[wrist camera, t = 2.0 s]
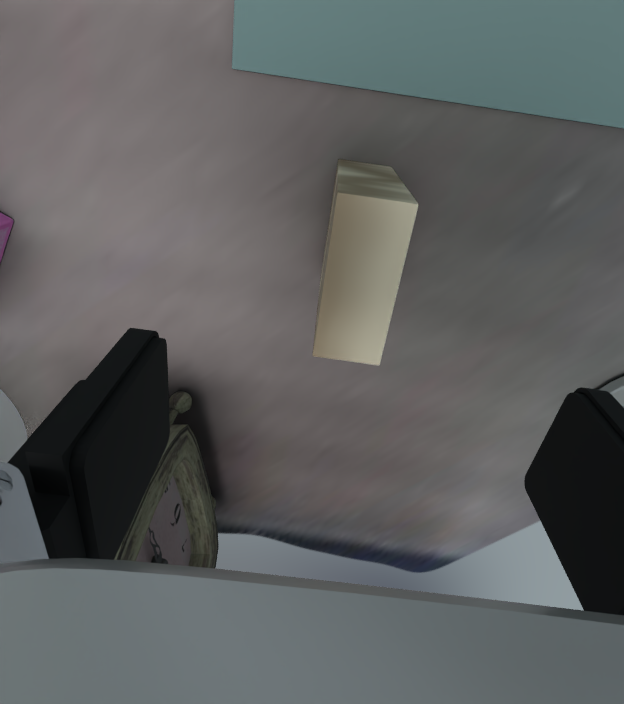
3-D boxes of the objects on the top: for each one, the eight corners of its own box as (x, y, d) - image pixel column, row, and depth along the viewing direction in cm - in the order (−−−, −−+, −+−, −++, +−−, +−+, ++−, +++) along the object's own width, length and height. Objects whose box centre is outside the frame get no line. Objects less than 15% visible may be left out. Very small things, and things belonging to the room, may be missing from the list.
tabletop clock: (232, 511, 40) (103, 1009, 18) (133, 510, 40) (-106, 991, 19) (202, 372, 33) (-69, 921, 11) (83, 375, 33) (-395, 897, 12)
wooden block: (391, 166, 25) (418, 204, 16) (367, 283, 29) (379, 365, 20) (338, 158, 25) (337, 192, 16) (320, 276, 29) (312, 356, 20)
